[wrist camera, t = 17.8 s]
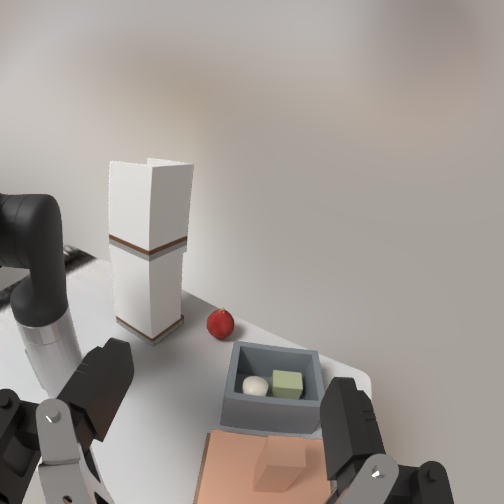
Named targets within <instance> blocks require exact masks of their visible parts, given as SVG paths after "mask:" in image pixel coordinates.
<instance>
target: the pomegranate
mask: <svg viewBox="0 0 504 504" xmlns="http://www.w3.org/2000/svg"><path fill="white" fill-rule="evenodd" d="M207 329H208V331H209V333H210V334H211V335H212V336H214V337H216V338H218V339H221V338H224V337H227V336H229V335H230V334H231V333H232V332H233V330H234V319H233V317H232V316H231V314H230V313H229V312H227V311H226V310H225V309H224V308H221V309H219V310H216V311H214V312H213V313H212V314H211V315H210V316H209V317H208V320H207Z"/></svg>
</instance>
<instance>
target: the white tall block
mask: <svg viewBox="0 0 504 504" xmlns="http://www.w3.org/2000/svg"><path fill="white" fill-rule="evenodd" d="M193 169H194V164H190V163H183V162H177V161H169V160H162V159H154V158H148V161H147V165H145V164H134V163H126V162H119V161H110V172H109V246H110V261H111V262H110V263H111V275H112V286H113V296H114V304H115V312H116V319H117V323H118V324H120V325H121V326H122V327H124V328H125V329H127V330H128V331H130V332H131V333H133V334H134V335H136V336H138V337H139V338H141V339H142V340H144V341H145V342H147V343H149V344H150V345H152V346H154V345H155V344H157V343H158V342H159V341H161V340H162V339H163V338H165V337H166V336H167V335H168V334H170V333H171V332H172V331H174V330H175V329H176V328H178V327H179V326H180V325H182V324H183V323H184V316H183V315H181V282H182V258H183V253H184V252H186V250H187V234H188V220H189V209H190V198H191V188H192V178H193Z"/></svg>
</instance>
